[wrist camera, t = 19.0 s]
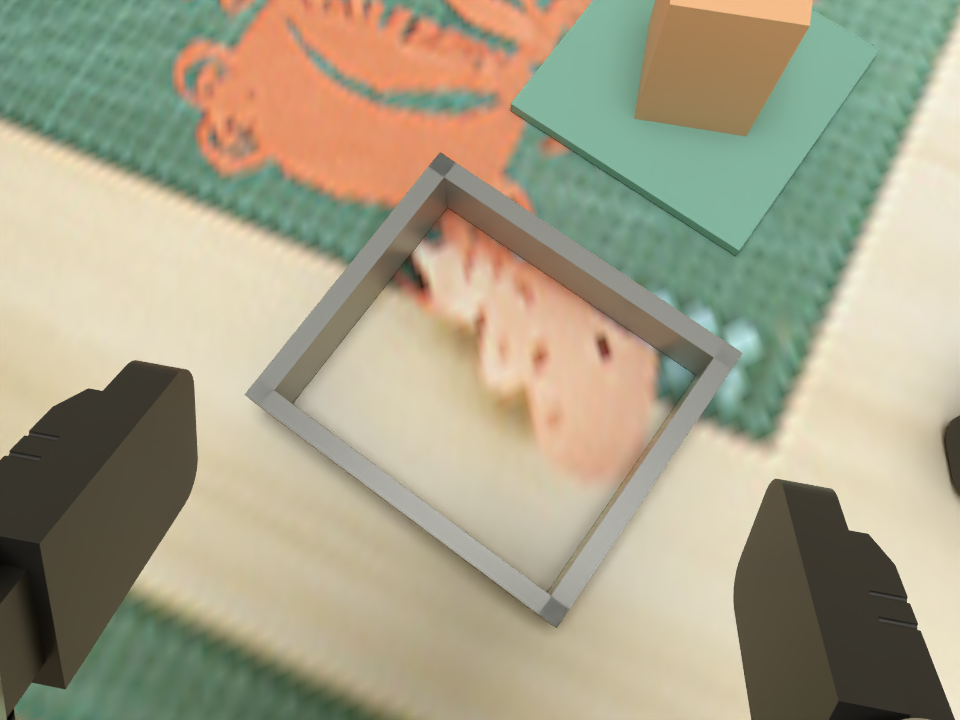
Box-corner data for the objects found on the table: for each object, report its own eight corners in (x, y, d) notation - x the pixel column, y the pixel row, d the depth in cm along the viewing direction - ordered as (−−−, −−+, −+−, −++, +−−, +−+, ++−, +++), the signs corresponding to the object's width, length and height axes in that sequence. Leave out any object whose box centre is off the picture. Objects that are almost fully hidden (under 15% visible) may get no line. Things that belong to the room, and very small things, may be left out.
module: (633, 118, 39) (669, 4, 32) (649, 21, 41) (687, -111, 33) (745, 136, 39) (809, 25, 31) (758, 38, 40) (822, -92, 33)
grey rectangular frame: (263, 409, 37) (244, 394, 34) (443, 184, 39) (440, 152, 36) (550, 624, 35) (556, 627, 32) (722, 371, 37) (742, 353, 34)
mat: (510, 110, 40) (510, 103, 40) (655, -72, 42) (657, -81, 42) (735, 255, 38) (739, 250, 38) (874, 57, 41) (879, 49, 40)
